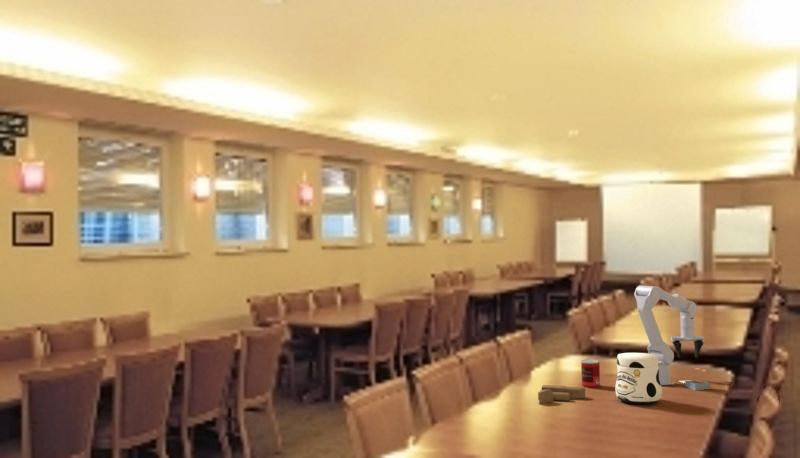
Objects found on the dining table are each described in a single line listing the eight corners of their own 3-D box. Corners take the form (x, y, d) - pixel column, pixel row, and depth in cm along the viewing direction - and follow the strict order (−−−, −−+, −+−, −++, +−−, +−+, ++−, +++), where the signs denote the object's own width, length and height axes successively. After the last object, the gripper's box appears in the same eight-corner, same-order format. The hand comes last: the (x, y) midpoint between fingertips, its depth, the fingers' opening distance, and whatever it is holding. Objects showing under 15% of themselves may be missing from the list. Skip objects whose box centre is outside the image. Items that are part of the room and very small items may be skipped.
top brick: (691, 380, 299) (693, 368, 299) (695, 379, 302) (697, 367, 301) (701, 383, 296) (703, 370, 296) (704, 381, 299) (706, 369, 299)
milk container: (611, 404, 273) (610, 357, 273) (620, 395, 288) (619, 351, 289) (658, 408, 265) (657, 360, 265) (664, 399, 280) (663, 353, 281)
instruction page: (690, 385, 304) (690, 385, 304) (678, 381, 314) (678, 380, 314) (705, 385, 305) (705, 384, 305) (693, 380, 314) (693, 380, 314)
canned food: (598, 384, 310) (597, 359, 310) (601, 388, 302) (601, 362, 302) (580, 384, 311) (579, 359, 311) (583, 388, 303) (582, 362, 303)
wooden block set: (540, 382, 291) (585, 384, 286) (540, 396, 291) (585, 398, 286) (536, 390, 275) (583, 392, 270) (536, 405, 275) (583, 407, 270)
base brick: (695, 391, 295) (695, 383, 295) (685, 387, 302) (685, 380, 302) (710, 390, 296) (710, 382, 296) (700, 387, 303) (700, 379, 303)
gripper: (674, 328, 314) (674, 358, 314) (707, 328, 313) (707, 358, 313) (668, 326, 321) (669, 356, 321) (701, 326, 320) (701, 356, 320)
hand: (688, 357), depth 318 cm, fingers open, 7 cm apart
